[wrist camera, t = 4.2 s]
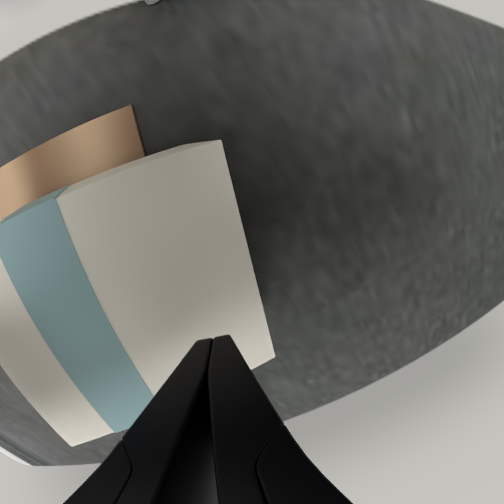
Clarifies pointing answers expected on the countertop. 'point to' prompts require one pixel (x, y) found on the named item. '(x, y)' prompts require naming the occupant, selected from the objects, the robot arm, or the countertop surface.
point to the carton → (124, 287)
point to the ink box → (151, 1)
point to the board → (70, 158)
